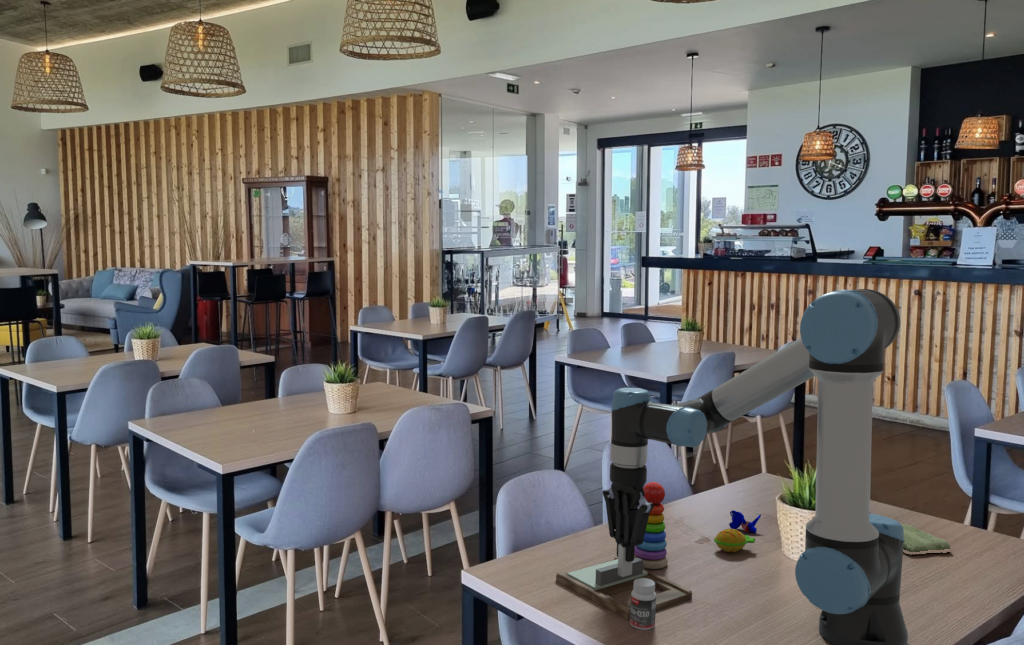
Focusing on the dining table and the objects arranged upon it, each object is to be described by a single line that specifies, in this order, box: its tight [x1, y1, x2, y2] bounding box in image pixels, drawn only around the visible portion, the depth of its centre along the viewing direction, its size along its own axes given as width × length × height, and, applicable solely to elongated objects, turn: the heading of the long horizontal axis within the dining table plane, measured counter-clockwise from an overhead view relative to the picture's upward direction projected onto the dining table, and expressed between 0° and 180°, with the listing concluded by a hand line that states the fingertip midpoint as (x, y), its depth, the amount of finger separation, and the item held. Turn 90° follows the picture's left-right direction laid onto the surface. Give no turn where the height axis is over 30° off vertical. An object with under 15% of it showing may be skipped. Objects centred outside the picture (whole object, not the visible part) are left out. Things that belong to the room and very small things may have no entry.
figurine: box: [728, 509, 762, 534], centre depth 208 cm, size 5×8×5 cm, turn 63°
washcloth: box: [900, 523, 952, 552], centre depth 202 cm, size 13×18×3 cm
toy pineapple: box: [713, 528, 756, 553], centre depth 194 cm, size 7×10×5 cm
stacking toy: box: [634, 481, 669, 570], centre depth 184 cm, size 8×8×19 cm
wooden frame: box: [555, 556, 693, 621], centre depth 170 cm, size 22×18×2 cm
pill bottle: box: [629, 578, 657, 631], centre depth 154 cm, size 5×5×8 cm
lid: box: [567, 558, 648, 590], centre depth 174 cm, size 9×15×4 cm, turn 125°
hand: (624, 574), depth 170 cm, fingers closed
